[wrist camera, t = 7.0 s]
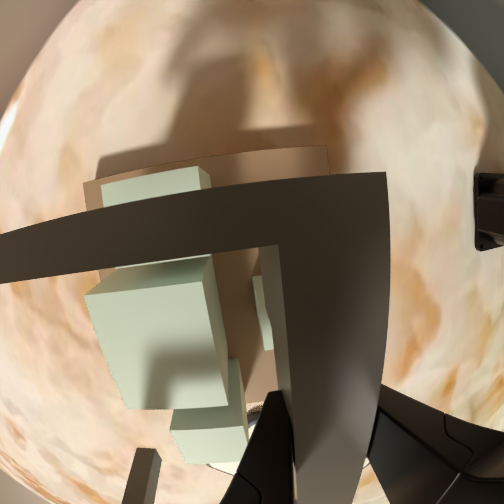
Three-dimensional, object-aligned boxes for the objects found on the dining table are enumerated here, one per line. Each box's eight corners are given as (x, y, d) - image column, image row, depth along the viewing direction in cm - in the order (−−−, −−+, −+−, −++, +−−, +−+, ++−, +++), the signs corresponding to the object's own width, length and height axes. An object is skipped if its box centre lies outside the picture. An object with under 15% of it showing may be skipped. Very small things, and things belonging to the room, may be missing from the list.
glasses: (313, 178, 9) (386, 171, 4) (322, 443, 11) (347, 514, 7) (54, 221, 8) (-36, 246, 4) (144, 459, 11) (128, 527, 7)
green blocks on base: (318, 148, 16) (376, 124, 9) (330, 375, 20) (367, 444, 13) (93, 183, 16) (19, 183, 8) (149, 397, 19) (126, 470, 12)
